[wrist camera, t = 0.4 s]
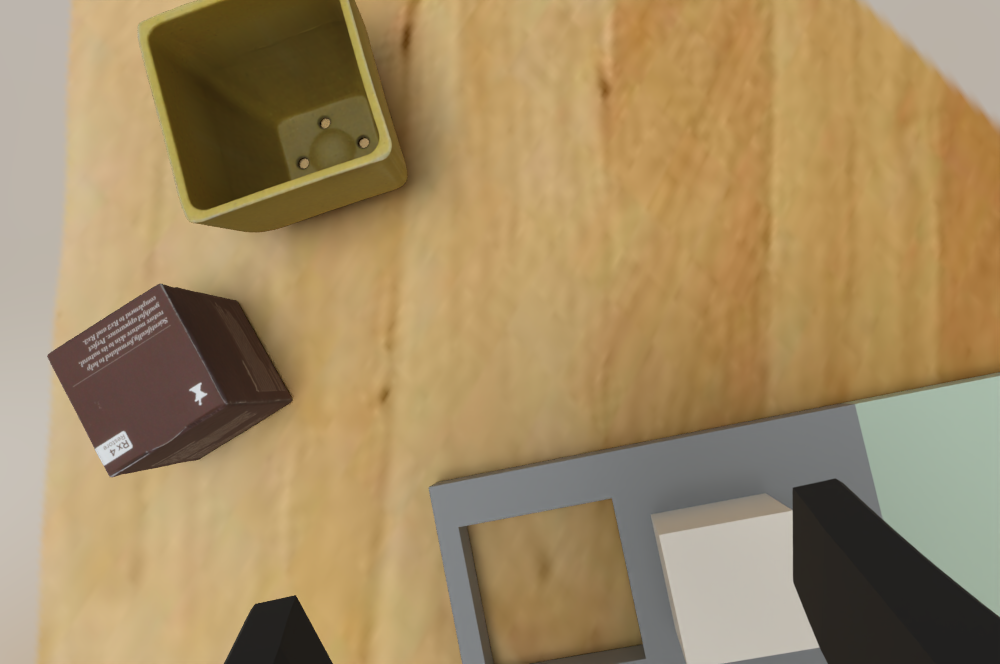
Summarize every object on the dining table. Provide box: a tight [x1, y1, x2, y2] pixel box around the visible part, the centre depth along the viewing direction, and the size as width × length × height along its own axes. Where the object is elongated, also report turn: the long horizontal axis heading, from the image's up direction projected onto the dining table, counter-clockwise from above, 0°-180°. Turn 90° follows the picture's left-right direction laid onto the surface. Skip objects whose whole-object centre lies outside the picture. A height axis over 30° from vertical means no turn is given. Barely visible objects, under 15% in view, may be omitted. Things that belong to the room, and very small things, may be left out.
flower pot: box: [138, 0, 408, 232], centre depth 36 cm, size 9×9×9 cm
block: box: [651, 493, 820, 664], centre depth 33 cm, size 5×5×5 cm
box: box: [47, 284, 292, 477], centre depth 37 cm, size 6×6×7 cm
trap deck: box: [429, 372, 1000, 664], centre depth 35 cm, size 20×30×2 cm, turn 102°
